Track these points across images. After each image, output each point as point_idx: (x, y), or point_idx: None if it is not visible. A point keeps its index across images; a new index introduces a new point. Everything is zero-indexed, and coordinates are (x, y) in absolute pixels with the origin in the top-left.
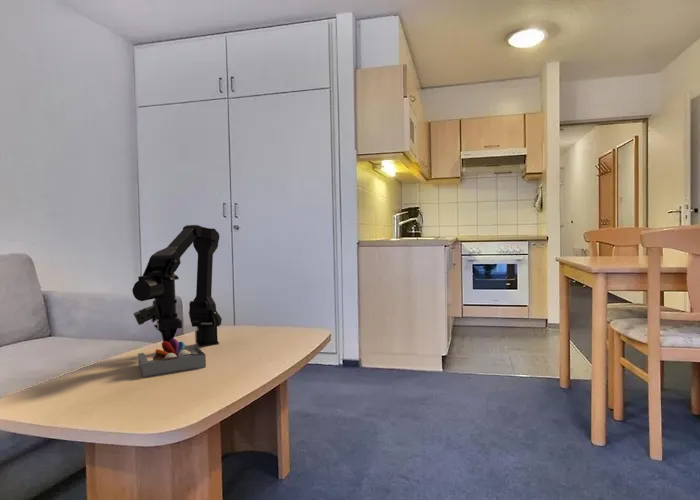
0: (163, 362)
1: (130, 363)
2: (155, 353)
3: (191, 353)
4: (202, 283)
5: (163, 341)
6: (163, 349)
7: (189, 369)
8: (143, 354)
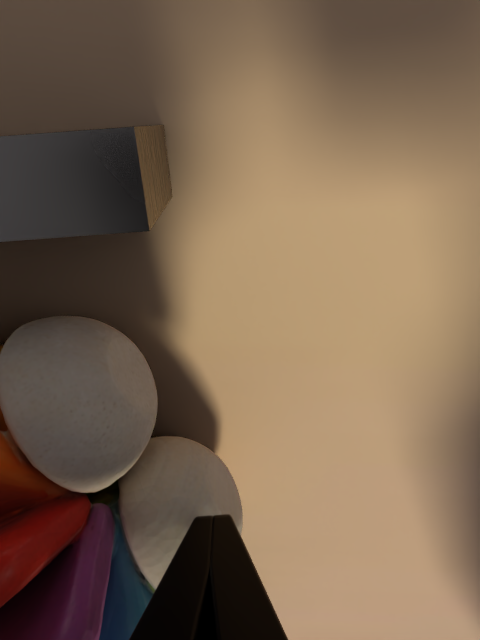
0: None
1: (375, 15)
2: (2, 397)
3: None
4: None
5: (181, 615)
6: (18, 520)
7: None
8: (6, 227)
